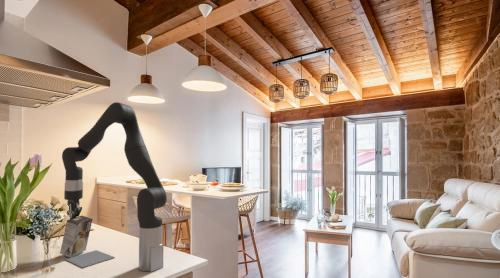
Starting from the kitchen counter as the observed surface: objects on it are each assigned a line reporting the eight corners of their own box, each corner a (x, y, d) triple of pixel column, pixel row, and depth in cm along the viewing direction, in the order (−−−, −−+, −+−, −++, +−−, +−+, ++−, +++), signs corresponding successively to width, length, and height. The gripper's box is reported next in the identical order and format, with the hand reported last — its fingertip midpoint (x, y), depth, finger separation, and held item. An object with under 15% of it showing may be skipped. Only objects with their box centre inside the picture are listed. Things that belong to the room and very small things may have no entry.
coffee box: (74, 246, 143) (82, 214, 142) (86, 250, 142) (93, 218, 141) (59, 253, 134) (66, 219, 133) (70, 258, 133) (78, 224, 132)
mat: (114, 258, 134) (114, 257, 134) (82, 268, 122) (82, 267, 122) (96, 250, 143) (96, 250, 143) (65, 259, 132) (65, 259, 132)
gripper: (88, 189, 140) (87, 226, 140) (75, 186, 147) (74, 220, 148) (71, 191, 134) (70, 229, 134) (58, 188, 141) (57, 224, 141)
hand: (72, 225), depth 141 cm, fingers closed
